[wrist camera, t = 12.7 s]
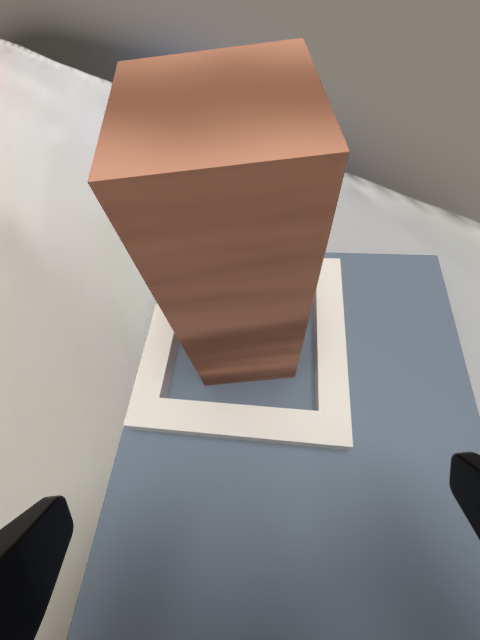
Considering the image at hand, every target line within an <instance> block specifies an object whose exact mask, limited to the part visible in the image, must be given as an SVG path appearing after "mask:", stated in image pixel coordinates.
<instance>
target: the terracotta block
mask: <svg viewBox="0 0 480 640" xmlns="http://www.w3.org/2000/svg"><path fill="white" fill-rule="evenodd" d="M349 152H350V151H349V149H348V146H347V144H346V141H345V139H344V136H343V134H342V132H341V129H340V127H339V124H338V122H337V120H336V117H335V114H334V112H333V110H332V107H331V105H330V102H329V100H328V98H327V95H326V93H325V90H324V88H323V85H322V83H321V80H320V78H319V76H318V73H317V71H316V68H315V66H314V63H313V61H312V58H311V56H310V53H309V51H308V49H307V46H306V44H305V41H304V39H303V38H298V39H291V40H282V41H275V42H267V43H259V44H251V45H244V46H236V47H229V48H220V49H212V50H205V51H196V52H190V53H182V54H173V55H165V56H158V57H150V58H142V59H134V60H126V61H119V62H118V64H117V68H116V72H115V76H114V80H113V84H112V88H111V91H110V95H109V99H108V103H107V107H106V111H105V115H104V119H103V123H102V127H101V131H100V135H99V139H98V143H97V147H96V151H95V155H94V159H93V163H92V167H91V171H90V175H89V179H88V184H89V185H90V187H91V189H92V191H93V192H94V194H95V196H96V198H97V199H98V201H99V203H100V205H101V206H102V208H103V210H104V211H105V213H106V215H107V217H108V218H109V220H110V222H111V224H112V225H113V227H114V229H115V231H116V232H117V234H118V236H119V237H120V239H121V241H122V243H123V244H124V246H125V248H126V250H127V251H128V253H129V255H130V257H131V258H132V260H133V262H134V264H135V265H136V267H137V269H138V270H139V272H140V274H141V276H142V277H143V279H144V281H145V283H146V284H147V286H148V288H149V290H150V291H151V293H152V295H153V296H154V298H155V300H156V302H157V303H158V305H159V307H160V309H161V310H162V312H163V314H164V316H165V317H166V319H167V321H168V323H169V324H170V326H171V328H172V329H173V331H174V333H175V335H176V336H177V338H178V340H179V342H180V343H181V345H182V347H183V349H184V350H185V352H186V354H187V355H188V357H189V359H190V361H191V362H192V364H193V366H194V368H195V369H196V371H197V373H198V375H199V376H200V378H201V380H202V381H203V383H204V385H205V386H208V385H218V384H228V383H239V382H249V381H259V380H270V379H280V378H290V377H295V374H296V370H297V366H298V362H299V358H300V354H301V350H302V346H303V341H304V337H305V333H306V329H307V325H308V321H309V317H310V313H311V309H312V304H313V300H314V296H315V292H316V288H317V284H318V280H319V276H320V272H321V267H322V263H323V259H324V255H325V251H326V247H327V243H328V239H329V234H330V230H331V226H332V222H333V218H334V214H335V210H336V206H337V202H338V197H339V193H340V189H341V185H342V181H343V177H344V173H345V169H346V164H347V160H348V156H349Z"/></svg>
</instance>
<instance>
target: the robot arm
mask: <svg viewBox="0 0 480 640" xmlns="http://www.w3.org/2000/svg"><path fill="white" fill-rule="evenodd" d="M449 485H450V489H451V492H452V494H453V496H454V497H455V499H456V501H457V503H458V504H459V506H460V508H461V509H462V511H463V513H464V514H465V516H466V518H467V520H468V521H469V523H470V525H471V526H472V528H473V530H474V531H475V533H476V535H477V537H478V538H479V540H480V455H479V454H477V453H474V452H460V453H455V454H453V455H452V457H451V464H450V478H449ZM72 533H73V520H72V517H71V514H70V511H69V508H68V505H67V502H66V499H65V498H64V497H63V496H50V497H45V498H43V499H41V500H40V501H38V502H37V503H36V504H34V505H33V506H32V507H30V508H29V509H28V510H26V511H25V512H24V513H22V514H21V515H19V516H18V517H17V518H15V519H14V520H13V521H11V522H10V523H9V524H7V525H6V526H5V527H3V528H2V529H1V530H0V640H34V638H35V636H36V634H37V631H38V629H39V627H40V624H41V622H42V619H43V617H44V614H45V612H46V609H47V606H48V604H49V601H50V598H51V595H52V592H53V589H54V586H55V583H56V581H57V578H58V575H59V572H60V569H61V566H62V563H63V560H64V557H65V554H66V551H67V548H68V545H69V542H70V540H71V537H72Z"/></svg>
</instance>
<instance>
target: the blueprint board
mask: <svg viewBox="0 0 480 640" xmlns="http://www.w3.org/2000/svg"><path fill="white" fill-rule="evenodd" d="M123 425H124V428H123V432H122V436H121V439H120V443H119V447H118V451H117V454H116V458H115V462H114V465H113V469H112V473H111V477H110V480H109V484H108V488H107V492H106V495H105V499H104V503H103V506H102V510H101V514H100V518H99V521H98V525H97V529H96V533H95V536H94V540H93V544H92V547H91V551H90V555H89V559H88V562H87V566H86V570H85V574H84V577H83V581H82V585H81V588H80V592H79V596H78V600H77V603H76V607H75V611H74V615H73V618H72V622H71V626H70V629H69V633H68V637H67V640H480V540H479V538H478V537H477V535H476V533H475V531H474V530H473V528H472V526H471V525H470V523H469V521H468V520H467V518H466V516H465V514H464V513H463V511H462V509H461V508H460V506H459V504H458V503H457V501H456V499H455V497H454V496H453V494H452V492H451V489H450V485H449V478H450V464H451V457H452V455H453V454H455V453H460V452H474V453H477V454H479V455H480V418H479V414H478V410H477V406H476V402H475V398H474V395H473V391H472V387H471V383H470V379H469V375H468V372H467V368H466V364H465V360H464V356H463V352H462V349H461V345H460V341H459V337H458V333H457V329H456V326H455V322H454V318H453V314H452V310H451V306H450V303H449V299H448V295H447V291H446V287H445V283H444V280H443V276H442V272H441V268H440V264H439V260H438V257H437V256H434V255H396V254H358V253H325V255H324V259H323V263H322V267H321V272H320V276H319V280H318V284H317V288H316V292H315V296H314V300H313V304H312V309H311V313H310V317H309V321H308V325H307V329H306V333H305V337H304V341H303V346H302V350H301V354H300V358H299V362H298V366H297V370H296V374H295V377H290V378H280V379H270V380H259V381H249V382H239V383H228V384H218V385H208V386H205V385H204V383H203V381H202V380H201V378H200V376H199V375H198V373H197V371H196V369H195V368H194V366H193V364H192V362H191V361H190V359H189V357H188V355H187V354H186V352H185V350H184V349H183V347H182V345H181V343H180V342H179V340H178V338H177V336H176V335H175V333H174V331H173V329H172V328H171V326H170V324H169V323H168V321H167V319H166V317H165V316H164V314H163V312H162V310H161V309H160V307H159V305H158V303H157V302H156V306H155V309H154V313H153V317H152V321H151V324H150V328H149V332H148V335H147V339H146V343H145V346H144V350H143V354H142V358H141V361H140V365H139V369H138V372H137V376H136V380H135V383H134V387H133V391H132V395H131V398H130V402H129V406H128V409H127V413H126V417H125V421H124V424H123Z"/></svg>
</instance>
